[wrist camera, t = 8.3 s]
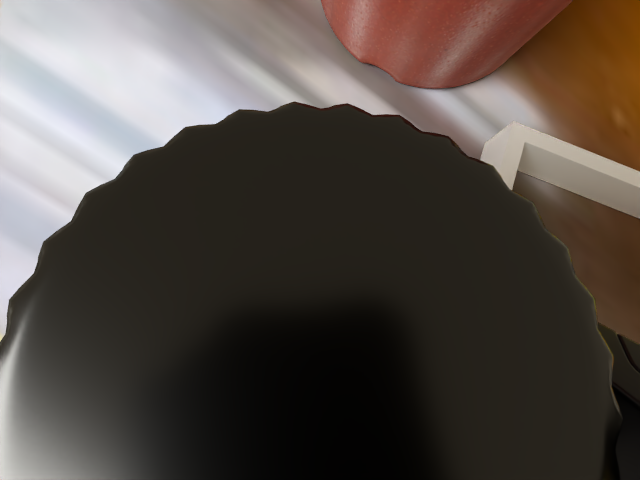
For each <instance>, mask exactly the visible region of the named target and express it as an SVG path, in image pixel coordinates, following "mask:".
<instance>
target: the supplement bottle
mask: <svg viewBox="0 0 640 480" xmlns="http://www.w3.org/2000/svg"><path fill="white" fill-rule="evenodd" d="M613 363H614V356H613V354H612V352H611V350H610V348H609V346H608V345H607V343H606V341H605V339H604V338H603V336H602V334H601V333H600V331H599V329H598V320H597V310H596V303H595V298H594V297H593V296H592V294H591V293H590V292H589V291H588V289H587V288H586V287H585V286H584V284H583V283H582V282H581V281H580V280H579V279H578V278H577V277H576V275H575V271H574V268H573V265H572V259H571V256H570V253H569V250H568V247H567V246H566V245H565V244H563V243H562V242H561V241H560V240H559V239H558V238H557V237H556V236H554V235H553V234H552V233H550V232H549V231H548V230H547V229H546V228H545V226H544V223H543V221H542V219H541V217H540V215H539V213H538V211H537V209H536V207H535V205H534V203H533V202H531V201H530V200H528V199H527V198H525V197H524V196H522V195H520V194H518V193H516V192H514V191H513V190H511V189H509V187H508V186H507V185H506V183H505V182H504V181H503V179H502V177H501V175H500V174H499V173H498V171H497V170H496V169H495V167H494V166H493V165H490V164H488V163H486V162H483V161H481V160H478V159H475V158H472V157H468V156H467V155H466V154H465V153H464V152H463V151H462V150H461V149H460V148H459V146H458V145H457V144H456V143H455V142H454V141H453V140H452V139H451V138H450V137H448V136H445V135H441V134H436V133H430V132H422V131H421V130H419V129H418V128H416V127H415V126H414V125H413V124H412V123H411V122H409V121H408V120H406V119H405V118H403V117H402V116H400V115H388V114H385V115H371V114H370V113H368V112H366V111H364V110H362V109H360V108H358V107H355V106H353V105H350V104H348V103H347V104H340V105H334V106H332V107H329V108H323V109H320V108H317V107H314V106H310V105H307V104H302V103H298V102H291V103H289V104H286V105H283V106H280V107H279V108H277V109H275V110H272V111H269V112H265V111H257V110H240V109H239V110H238V111H236V112H234V113H232V114H230V115H228V116H227V117H226V118H225V119H224V120H222V121H220V122H218V123H217V124H211V125H196V126H189V127H185V128H184V129H183V130H181V131H180V132H179V133H178V134H176V135H175V136H174V137H173V138H172V139H171V140H170V141H169V142H168V143H167V144H166V145H165V146H164V147H160V148H155V149H151V150H147V151H144V152H141V153H138V154H135V155H133V156H132V158H131V159H130V160H129V161H128V162H127V164H126V165H125V166H124V168H123V170H122V171H121V172H120V174H119V175H118V176H117V177H116V178H115V179H114V180H111V181H109V182H107V183H105V184H102V185H100V186H98V187H96V188H94V189H92V190H91V191H89V192H87V193H86V194H85V195H84V197H83V199H82V201H81V202H80V204H79V206H78V208H77V210H76V212H75V214H74V216H73V218H72V220H71V222H69V223H68V224H66V225H65V226H64V227H62V228H61V229H59V230H58V231H56V232H55V233H54V234H53V235H51V236H50V237H49V238H48V239H46V240H45V241H44V242H43V245H42V248H41V250H40V253H39V256H38V263H37V266H36V269H35V272H34V274H33V275H32V276H31V277H30V278H29V279H28V280H27V281H26V282H25V283H24V284H23V285H22V286H21V287H20V288H19V289H18V290H17V291H16V293H15V294H14V295H13V296H12V297H11V298H10V300H9V305H8V312H7V327H6V334H5V336H4V337H3V338H2V340H1V341H0V480H621V478H620V471H619V465H618V460H617V455H616V450H615V449H616V444H617V440H618V436H619V434H620V430H621V425H622V420H623V417H622V414H621V411H620V408H619V405H618V402H617V400H616V397H615V394H614V392H613V389H612V374H613Z"/></svg>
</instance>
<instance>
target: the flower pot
mask: <svg viewBox="0 0 640 480" xmlns="http://www.w3.org/2000/svg"><path fill="white" fill-rule="evenodd" d="M572 1H573V0H321V2H322V6H323V9H324V12H325V15H326V17H327V20H328V22H329V24H330V26H331V28H332V29H333V31H334V33H335V34H336V36H337V37H338V39H339V40H340V41H341V43H342V44H343V45H344V46H345V48H346V49H347V50H348V51H349V52H350V53H351V54H352V55H353V56H354V57H355V58H357V59H358V60H359V61H360V62H362V63H369V64H373V65H375V66H377V67H379V68H381V69H382V70H384V71H386V72H387V73H388V74H389V75H391V76H392V77H393V78H394V79H395V81H397V82H399V83H402V84H406V85H410V86H415V87H420V88H449V87H456V86H460V85H464V84H468V83H471V82H473V81H476V80H479V79H481V78H483V77H485V76H487V75H489V74H490V73H492V72H493V71H495V70H496V69H497V68H498V67H500V66H501V65H502V64H503V63H504V62H505V61H506V60H507V59H508V58H510V57H511V56H512V55H513V54H514V53H515V52H516V51H517V50H519V49H520V48H521V47H522V46H523V45H524V44H525V43H526V42H527V41H528V40H530V39H531V38H532V37H533V36H534V35H535V34H536V33H537V32H539V31H540V30H541V29H542V28H543V27H544V26H545V25H546V24H548V23H549V22H550V21H551V20H552V19H553V18H554V17H555V16H556V15H558V14H559V13H560V12H561V11H562V10H563V9H564V8H565V7H566V6H568V5H569V4H570V3H571V2H572Z"/></svg>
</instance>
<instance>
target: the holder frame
mask: <svg viewBox="0 0 640 480" xmlns="http://www.w3.org/2000/svg"><path fill="white" fill-rule="evenodd" d="M480 160H481V161H483V162H486V163H488V164H490V165H493V166H494V167H495V169H496V170H497V171H498V173H499V174H500V175H501V177H502V179H503V181H504V182H505V183H506V185H507V186H508V187H509V189H511V190H512V188H513V184H514V180H515V177H516V173H517V170H518V171H520V172H523V173H525V174H528V175H530V176H533V177H535V178H538V179H540V180H543V181H545V182H548V183H551V184H553V185H556V186H558V187H561V188H563V189H566V190H568V191H571V192H573V193H576V194H578V195H581V196H583V197H586V198H588V199H591V200H593V201H596V202H598V203H601V204H603V205H606V206H609V207H611V208H614V209H616V210H619V211H621V212H624V213H626V214H629V215H631V216H634V217H636V218H639V219H640V172H639V171H637V170H634V169H632V168H629V167H627V166H624V165H622V164H619V163H617V162H614V161H612V160H609V159H607V158H604V157H602V156H599V155H597V154H594V153H592V152H589V151H587V150H584V149H582V148H579V147H577V146H574V145H572V144H569V143H567V142H564V141H562V140H559V139H557V138H554V137H552V136H549V135H547V134H544V133H542V132H539V131H537V130H535V129H532V128H530V127H527V126H525V125H522V124H520V123H517V122H515V121H513V122H512V123H510V124H509V125H508V126H506V127H505V128H504V129H503V130H501V131H500V132H499V133H497V134H496V135H495V136H494V137H492V138H491V139H490V140H488V141H487V142H486V143H485V145H484V148H483V151H482V155H481V158H480Z"/></svg>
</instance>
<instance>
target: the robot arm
mask: <svg viewBox="0 0 640 480" xmlns="http://www.w3.org/2000/svg"><path fill="white" fill-rule="evenodd" d="M598 329H599V331H600V333H601V334H602V336H603V338H604V339H605V341H606V343H607V345H608V346H609V348H610V350H611V352H612V354H613V356H614V363H613V374H612V389H613V392H614V394H615V397H616V400H617V402H618V405H619V408H620V411H621V414H622V417H623V420H622V425H621V430H620V434H619V436H618V440H617V444H616V449H615V450H616V455H617V460H618V465H619V471H620V478H621V480H640V344H638V343H636V342H634V341H632V340H630V339H629V338H627V337H625V336H623V335H621V334H616V332H615V331H614V330H612V329H610V328H608V327H606V326H604V325H602V324H600V323H599V322H598Z"/></svg>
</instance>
